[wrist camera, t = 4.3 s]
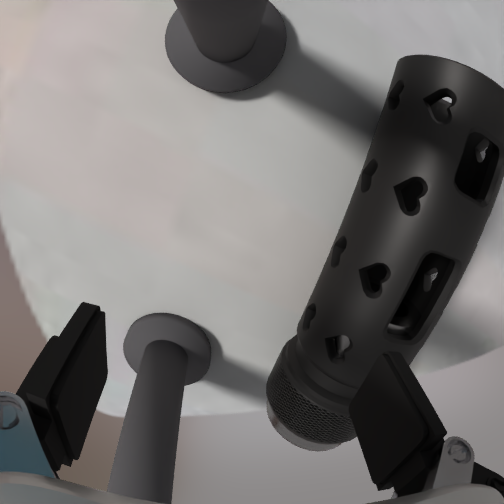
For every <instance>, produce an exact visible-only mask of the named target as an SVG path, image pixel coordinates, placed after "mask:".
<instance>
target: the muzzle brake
mask: <svg viewBox="0 0 504 504" xmlns="http://www.w3.org/2000/svg"><path fill="white" fill-rule="evenodd" d="M444 97H450V98H451V99H452V103H449V102H447V101H445V100H443V99H442V98H444ZM487 147H488V148H487ZM486 148H487V149H486ZM484 149H486V150H485V153H486V155H485V159H484V160H482V157H481V154H480V152H481V151H483V150H484ZM503 177H504V89H503V88H502V87H501V86H500V85H498V84H497V83H496V82H495V81H493V80H492V79H490V78H489V77H487V76H485V75H484V74H482V73H481V72H479V71H477V70H475V69H473V68H471V67H469V66H466V65H464V64H461V63H459V62H456V61H453V60H450V59H446V58H442V57H438V56H431V55H410V56H405V57H403V58H401V59H399V61H398V62H397V65H396V68H395V72H394V75H393V79H392V82H391V85H390V88H389V92H388V95H387V98H386V101H385V104H384V108H383V111H382V114H381V117H380V120H379V123H378V126H377V129H376V132H375V135H374V138H373V141H372V143H371V146H370V149H369V152H368V155H367V158H366V160H365V163H364V166H363V169H362V171H361V174H360V177H359V180H358V182H357V185H356V188H355V190H354V193H353V196H352V198H351V201H350V203H349V206H348V209H347V211H346V214H345V216H344V219H343V221H342V224H341V226H340V229H339V231H338V234H337V236H336V239H335V241H334V244H333V246H332V248H331V251H330V253H329V256H328V258H327V260H326V263H325V265H324V267H323V270H322V272H321V274H320V277H319V279H318V281H317V284H316V286H315V288H314V290H313V293H312V295H311V297H310V299H309V302H308V304H307V306H306V308H305V310H304V313H303V315H302V317H301V319H300V321H299V323H298V327H297V335H295V336H294V337H293V338H292V339H290V340H289V341H288V342H287V343H286V344H285V346H284V347H283V349H282V351H281V353H280V355H279V357H278V359H277V361H276V363H275V365H274V367H273V369H272V371H271V373H270V376H269V378H268V381H267V386H266V394H267V398H268V400H267V413H268V417H269V419H270V422H271V424H272V425H273V427H274V428H275V429H276V431H277V432H278V433H279V434H280V435H281V436H282V437H283V438H284V439H286V440H287V441H289V442H291V443H292V444H294V445H296V446H298V447H300V448H303V449H307V450H311V451H326V450H329V449H333V448H335V447H337V446H339V445H340V444H341V443H343V442H346V441H350V440H352V439H354V438H355V437H357V434H356V431H355V428H354V426H353V423H352V420H351V417H350V414H349V404H350V402H351V401H352V399H353V398H354V396H355V395H356V393H357V391H358V390H359V388H360V387H361V385H362V383H363V382H364V380H365V378H366V377H367V375H368V373H369V372H370V370H371V368H372V366H373V365H374V363H375V361H376V359H377V358H378V356H379V355H382V353H383V352H385V351H393V352H400V353H401V354H402V356H403V357H404V359H405V361H406V362H407V364H408V365H410V364H411V362H412V361H413V359H414V357H415V356H416V354H417V353H418V352H419V350H420V349H421V348H422V346H423V345H424V343H425V342H426V340H427V338H428V337H429V335H430V334H431V332H432V330H433V329H434V327H435V325H436V324H437V322H438V320H439V319H440V317H441V315H442V313H443V310H444V309H445V307H446V305H447V304H448V302H449V300H450V298H451V296H452V294H453V292H454V291H455V289H456V287H457V286H458V284H459V282H460V280H461V278H462V276H463V274H464V272H465V270H466V268H467V266H468V264H469V262H470V260H471V258H472V256H473V253H474V251H475V249H476V247H477V243H478V241H479V239H480V236H481V234H482V232H483V230H484V227H485V224H486V222H487V219H488V217H489V216H490V213H491V211H492V208H493V206H494V203H495V200H496V197H497V195H498V192H499V189H500V186H501V183H502V180H503ZM436 272H438V274H437V277H436V278H435V280H433V281H432V286H431V274H434V273H436Z"/></svg>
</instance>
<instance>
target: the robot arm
mask: <svg viewBox="0 0 504 504" xmlns="http://www.w3.org/2000/svg"><path fill="white" fill-rule="evenodd" d="M107 374H108V368H107V352H106V326H105V312H102V311H100V307H99V306H97V305H93V304H89V303H85V302H82V303H81V304H80V306H79V307H78V309H77V310H76V312H75V313H74V315H73V316H72V318H71V319H70V321H69V322H68V324H67V325H66V327H65V328H64V330H63V331H62V333H61V334H60V336H59V337H58V336H55V335H54V336H52V337H51V338H50V339H49V341H48V342H47V344H46V345H45V347H44V349H43V350H42V352H41V353H40V355H39V356H38V358H37V360H36V361H35V363H34V365H33V366H32V368H31V369H30V371H29V372H28V374H27V376H26V377H25V379H24V381H23V382H22V384H21V386H20V388H19V389H18V391H17V393H16V394H14V393H11V392H6V391H2V392H0V504H163V503H157V502H152V501H146V500H141V499H136V498H131V497H127V496H122V495H118V494H114V493H110V492H106V491H102V490H98V489H95V488H91V487H87V486H83V485H79V484H75V483H72V482H68V481H64V480H60V478H59V476H58V474H57V471H58V470H60V467H61V465H62V464H64V465H67V466H70V467H71V464H72V461H73V459H75V460H78V459H79V457H80V454H81V451H82V448H83V445H84V442H85V439H86V436H87V433H88V430H89V427H90V424H91V421H92V418H93V415H94V412H95V410H96V407H97V404H98V402H99V399H100V396H101V393H102V391H103V388H104V385H105V383H106V380H107ZM349 414H350V417H351V420H352V423H353V426H354V428H355V431H356V434H357V437H358V440H359V443H360V446H361V449H362V452H363V455H364V458H365V461H366V464H367V467H368V470H369V473H370V476H371V479H372V481H373V483H374V484H376V485H377V488H378V491H380V490H385V489H390V488H391V487H394V490H395V491H394V493H393V495H392V497H391V499H389V500H383V501H378V502H373V503H367V504H504V478H503V477H502V476H500V475H499V474H497V473H495V472H493V471H491V470H489V469H487V468H485V467H483V466H481V465H480V464H478V463H476V462H474V451H473V449H472V447H471V446H470V444H469V443H468V442H467V441H465V440H464V439H462V438H460V437H455V436H453V437H449V438H448V439H447V440H445V441H444V439H443V437H444V436H445V435H446V434H447V431H446V429H445V428H444V426H443V424H442V422H441V420H440V419H439V417H438V415H437V413H436V411H435V410H434V408H433V406H432V404H431V403H430V401H429V399H428V398H427V396H426V394H425V392H424V391H423V389H422V387H421V386H420V384H419V382H418V380H417V379H416V377H415V375H414V374H413V372H412V370H411V369H410V367H409V365H408V364H407V362H406V361H405V359H404V357H403V356H402V354H401V353H400V352H393V351H385V352H383V353H382V355H379V356H378V358H377V359H376V361H375V363H374V365H373V366H372V368H371V370H370V372H369V373H368V375H367V377H366V378H365V380H364V382H363V383H362V385H361V387H360V388H359V390H358V391H357V393H356V395H355V396H354V398H353V399H352V401H351V402H350V404H349Z"/></svg>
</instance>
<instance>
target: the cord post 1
mask: <svg viewBox="0 0 504 504" xmlns="http://www.w3.org/2000/svg"><path fill="white" fill-rule="evenodd" d="M123 350H124V355H125V358H126V360H127V362H128V364H129V365H130V367H131V368H132V369H133V370H134V371H135V372H136V373H137V377H136V380H135V384H134V387H133V390H132V394H131V397H130V401H129V405H128V408H127V412H126V415H125V419H124V423H123V427H122V431H121V434H120V438H119V442H118V446H117V450H116V454H115V458H114V463H113V467H112V471H111V475H110V480H109V484H108V489H107V492H110V493H114V494H118V495H122V496H127V497H131V498H136V499H141V500H146V501H152V502H157V503H163V504H171V500H172V489H173V479H174V469H175V459H176V449H177V441H178V432H179V423H180V415H181V407H182V400H183V392H184V386H186V385H189V384H192V383H194V382H196V381H198V380H199V379H201V378H202V377H203V376H204V375H205V374H206V372H207V371H208V369H209V366H210V357H211V347H210V343H209V340H208V338H207V337H206V335H205V334H204V332H203V331H202V330H201V329H200V328H199V327H198V326H197V325H196V324H194V323H193V322H191V321H190V320H188V319H186V318H183V317H181V316H178V315H174V314H169V313H153V314H148V315H145V316H143V317H141V318H139V319H138V320H136V321H135V322H134V323H133V324H132V325H131V327H130V328H129V330H128V333H127V335H126V337H125V340H124V345H123Z"/></svg>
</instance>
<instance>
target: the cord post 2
mask: <svg viewBox="0 0 504 504" xmlns="http://www.w3.org/2000/svg"><path fill="white" fill-rule="evenodd" d="M174 2H175V4H176V6H177V8H178V9H177V10H176V11H175V13H174V14H173V15H172V17H171V19H170V21H169V23H168V26H167V30H166V34H165V47H166V52H167V55H168V58H169V60H170V62H171V64H172V66H173V67H174V68H175V70H176V71H177V72H178V73H179V74H180V75H181V76H182V77H183V78H184V79H186V80H187V81H188V82H190V83H191V84H193V85H195V86H197V87H199V88H202V89H204V90H208V91H212V92H220V93H228V92H236V91H240V90H244V89H247V88H250V87H252V86H254V85H256V84H258V83H259V82H261V81H262V80H264V79H265V78H266V77H267V76H268V75H269V74H270V73H271V72H272V71H273V70H274V69H275V67H276V66H277V64H278V63H279V62H280V60H281V58H282V56H283V53H284V50H285V46H286V28H285V25H284V21H283V19H282V17H281V15H280V13H279V12H278V10H277V9H276V8H275V7H274V5H273V4H272V3H271V2H269V1H268V0H174Z"/></svg>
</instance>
